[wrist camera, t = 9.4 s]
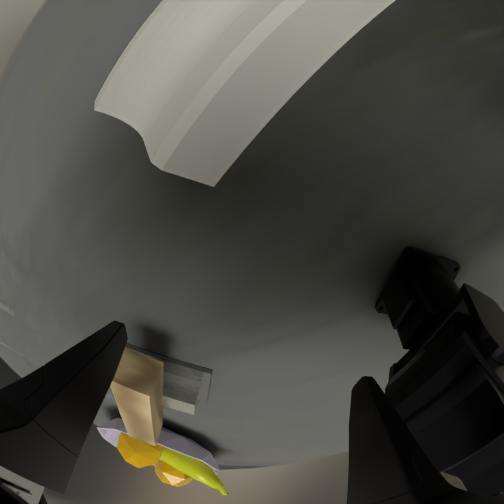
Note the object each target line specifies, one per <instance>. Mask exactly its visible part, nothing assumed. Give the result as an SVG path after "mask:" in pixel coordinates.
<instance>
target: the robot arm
mask: <svg viewBox="0 0 504 504" xmlns="http://www.w3.org/2000/svg"><path fill="white" fill-rule="evenodd" d="M410 252H411V254H410V255H408V253H410ZM455 267H456V268H455ZM454 268H455V269H454ZM459 270H460V265H459V264H458V263H457V262H455V261H452V260H449V259H446V258H443V257H440V256H437V255H434V254H431V253H428V252H425V251H422V250H419V249H416V248H413V247H407V248H406V249H405V250H404V251H403V253H402V256H401V258H400V260H399V262H398V264H397V266H396V268H395V269H394V270H393V272H392V274H391V276H390V277H389V279H388V281H387V283H386V285H385V287H384V289H383V290H382V292H381V296H380V297H379V299H378V301H377V303H376V304H375V309H376V311H377V312H378V313H383V314H388V315H389V318H390V320H391V323H392V326H393V328H394V329H397V332H398V335H399V337H400V340H401V343H402V346H403V349H409V351H408V352H407V353H406V354H405V355H404V356H403V357H402V358H401V359H400V360H399V361H398V362H397V363H395V364H393V365H392V366H391V367H390V372H389V381H388V384H387V386H386V388H385V394H384V392H383V391H382V389H381V388H380V386H379V385H378V384H377V382H376V381H375V379H374V378H373V377H369V376H363V377H362V378H361V379H360V380H359V381H358V382H357V383H356V384H355V386H354V387H353V389H352V393H351V407H350V418H349V473H348V493H347V504H504V312H503V311H502V310H501V308H500V307H499V306H498V305H497V303H496V302H495V301H494V300H493V299H491V298H489V297H488V296H486V295H484V294H483V293H481V292H479V291H478V290H476V289H474V288H472V287H471V286H469V285H467V284H465V283H464V284H463V285H462V287H461V288H460V289H459V288H458V286H457V285H456V284H455V282H454V279H455V277H456V275H457V274H458V272H459ZM381 306H382V307H381ZM379 307H380V308H379ZM126 344H127V332H126V327H125V325H124V324H123V323H121V322H118V321H113V322H111V323H110V324H108V325H106V326H105V327H103V328H102V329H100V330H98V331H97V332H95V333H94V334H92V335H91V336H89V337H87V338H86V339H84V340H83V341H81V342H79V343H78V344H76V345H75V346H73V347H72V348H70V349H68V350H67V351H65V352H64V353H62V354H61V355H59V356H57V357H56V358H54V359H53V360H51V361H50V362H48V363H46V364H45V366H42V367H40V368H39V369H37V370H35V371H34V372H32V373H30V374H29V375H27V376H25V377H23V378H21V379H20V380H18V381H16V382H14V383H12V384H9V385H7V386H5V387H3V388H1V389H0V504H47V502H46V499H45V497H44V495H43V490H44V487H46V488H48V489H51V490H53V491H56V492H59V493H62V494H64V493H65V492H66V489H67V486H68V483H69V481H70V478H71V475H72V472H73V470H74V467H75V464H76V462H77V459H78V457H79V454H80V452H81V449H82V447H83V445H84V442H85V440H86V437H87V435H88V433H89V431H90V428H91V426H92V424H93V421H94V419H95V417H96V415H97V413H98V410H99V408H100V406H101V404H102V402H103V400H104V398H105V395H106V393H107V391H108V389H109V387H110V385H111V383H112V381H113V379H114V377H115V374H116V371H117V369H118V366H119V363H120V360H121V357H122V355H123V352H124V349H125V347H126ZM441 472H444V473H447V474H449V475H452V476H455V477H457V478H458V479H459V480H460V481H461V483H462V484H463V486H464V488H465V490H466V491H465V490H461V489H459V488H456V487H454V486H452V485H451V484H449V483H448V482H447V481H446V480H445V478H444V477H443V476H442V475H441V474H440V473H441Z"/></svg>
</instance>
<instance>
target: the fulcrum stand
mask: <svg viewBox="0 0 504 504" xmlns="http://www.w3.org/2000/svg"><path fill="white" fill-rule="evenodd" d="M125 348H128V349H130V350H132V351H135V352H137V353H140V354H142V355H145V356H148V357H150V358H153V359H156V360H158V361H161V362H164V363H163V406H166V407H169V408H172V409H176V410H179V411H182V412H186V413H189V414H193V415H194V413H195V410H196V406H197V403H198V401H201V402H205V403H207V399H208V393H209V387H210V381H211V375H212V370H211V369H207V368H203V367H199V366H196V365H192V364H188V363H185V362H181V361H178V360H175V359H171V358H168V357H165V356H162V355H159V354H156V353H153V352H150V351H147V350H144V349H141V348H138V347H135V346H132V345H130V344H126V347H125ZM124 350H125V349H124ZM110 386H111V385H110Z"/></svg>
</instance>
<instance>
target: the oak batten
mask: <svg viewBox="0 0 504 504" xmlns="http://www.w3.org/2000/svg"><path fill="white" fill-rule="evenodd" d="M163 363H164V362H161V361H158V360H156V359H153V358H150V357H148V356H145V355H142V354H140V353H137V352H135V351H132V350H130V349H128V348H125V350H124V352H123V355H122V357H121V360H120V363H119V366H118V369H117V371H116V374H115V377H114V379H113V381H112V383H111V389H112V392H113V395H114V398H115V401H116V403H117V406H118V409H119V412H120V414H121V417H122V420H123V422H124V425H125V427H126V430H127V432H128V435H129V436H130V437H133V438H135V439H138V440H140V441H143V442H145V443H148V444H151V445H154V446H156V443H157V440H158V437H159V434H160V431H161V428H162V425H163Z"/></svg>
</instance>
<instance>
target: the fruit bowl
mask: <svg viewBox="0 0 504 504" xmlns="http://www.w3.org/2000/svg"><path fill="white" fill-rule="evenodd" d="M97 429H98V430H99V432H100V434H101V435H102V437H103V438H104V439H105V440H107V441H108V442H110V443H111V444H112V445H114V446H116V447H117V448H118V450H119V452H120V453H121V455H122V456H123V458H124V459H125V461H127V462H128V463H130V464H132V465H134V466H135V467H137V468H141V467H145V466H149V465H154V466H155V472H156V474H157V475H158V477H159V478H160V480H161V481H162V482H164V483H166V484H170V485H172V486H176V487H179V486H182V485H185V484H188V483H190V482H191V481H192V480H193V479H196V480H198V481H200V482H202V483H204V484H206V485H208V486H210V487H212V488H214V489H218V490H219V491H220V492H221V493H222V494H223V495H224V496H226V495H228V492H227V491H226V490H225V489H224V488H223V487H222V486H223V484H222V483H221V481H220V480H219V478H218V477H217V474H218V473H220V472H221V471H220V469H219V467H218V466H217V464H216V462H215V460H214V458H213V456H212V454H211V453H210V452H209V451H207V450H206V449H205V448H203V447H202V446H200V445H199V444H197V443H196V442H195V441H193V440H192V439H190V438H187V437H185V436H182V435H180V434H178V433H175V432H173V431H171V430H168V429H166V428H164V427H162V428H161V431H160V434H159V437H158V440H157V443H156V446H154V445H151V444H148V443H145V442H143V441H140V440H138V439H135V438H133V437H130V436H129V435H128V432H127V430H126V427H125V425H124V422H123V420H122V418H116V419H114V420H112V421H110V422H108V423H106V424H103V425H101V426H99V427H97Z"/></svg>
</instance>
